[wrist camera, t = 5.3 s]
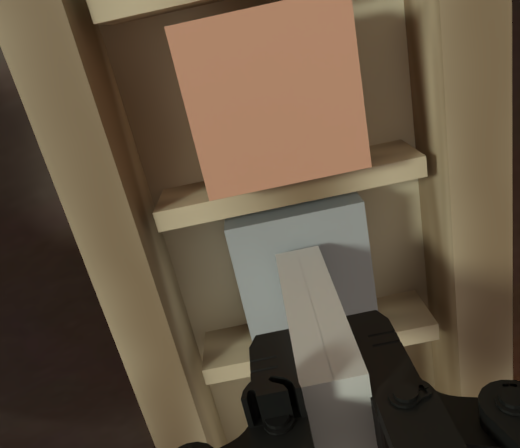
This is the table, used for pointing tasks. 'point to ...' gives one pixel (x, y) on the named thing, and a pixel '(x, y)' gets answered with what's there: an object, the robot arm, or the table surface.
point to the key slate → (294, 238)
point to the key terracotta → (272, 94)
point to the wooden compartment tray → (275, 192)
